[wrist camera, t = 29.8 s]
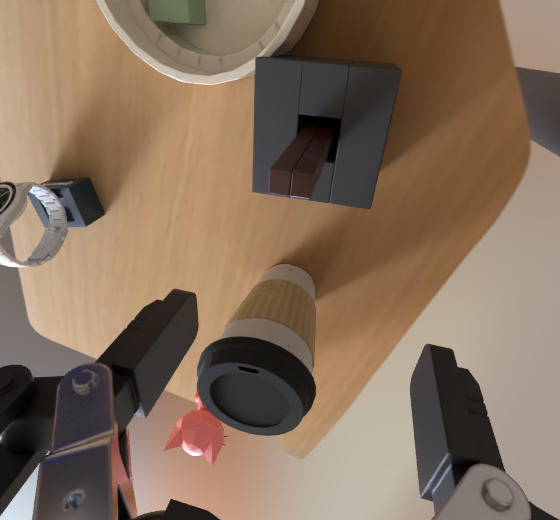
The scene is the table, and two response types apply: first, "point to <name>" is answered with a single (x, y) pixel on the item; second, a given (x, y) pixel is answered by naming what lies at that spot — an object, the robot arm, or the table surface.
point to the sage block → (178, 11)
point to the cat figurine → (198, 433)
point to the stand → (325, 103)
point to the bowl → (211, 36)
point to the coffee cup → (264, 357)
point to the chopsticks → (304, 159)
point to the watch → (48, 213)
